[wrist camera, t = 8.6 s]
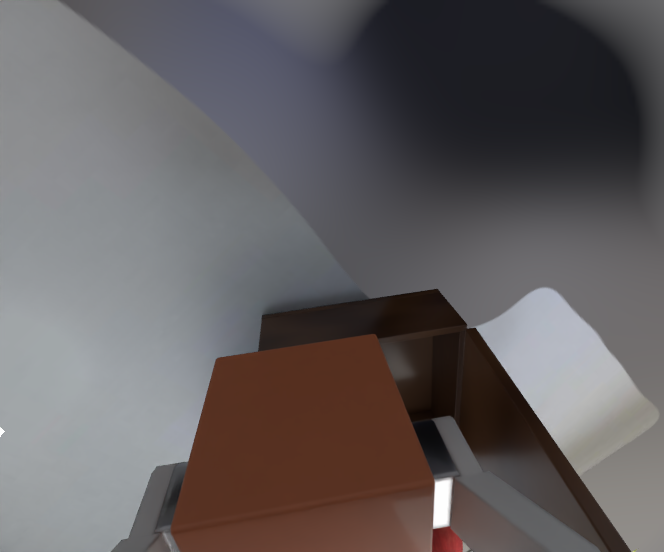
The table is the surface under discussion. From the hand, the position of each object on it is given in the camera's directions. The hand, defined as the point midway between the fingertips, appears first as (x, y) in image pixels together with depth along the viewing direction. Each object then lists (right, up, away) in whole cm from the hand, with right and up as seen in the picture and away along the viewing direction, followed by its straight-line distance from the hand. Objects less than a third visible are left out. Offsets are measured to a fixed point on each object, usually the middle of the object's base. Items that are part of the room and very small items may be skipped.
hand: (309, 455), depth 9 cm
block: (0, +1, +2) cm, 2 cm away
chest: (+3, -4, +26) cm, 27 cm away
